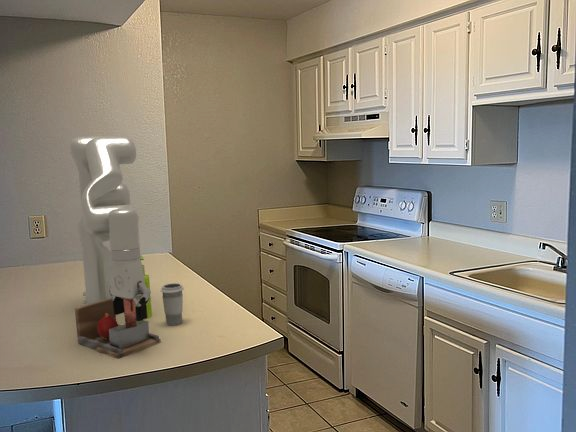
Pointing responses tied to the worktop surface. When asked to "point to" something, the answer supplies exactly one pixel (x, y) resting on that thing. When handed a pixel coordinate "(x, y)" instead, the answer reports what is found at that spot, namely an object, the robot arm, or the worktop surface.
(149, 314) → the soap dispenser
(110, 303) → the frame
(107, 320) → the onion
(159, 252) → the worktop surface
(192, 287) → the worktop surface
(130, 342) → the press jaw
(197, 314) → the worktop surface
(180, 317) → the cup
